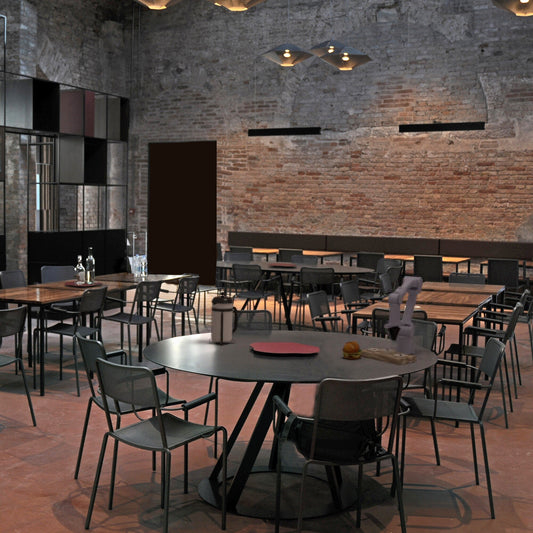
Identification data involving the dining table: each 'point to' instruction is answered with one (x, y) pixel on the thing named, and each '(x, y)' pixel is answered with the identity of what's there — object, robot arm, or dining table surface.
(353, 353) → the cheeseburger
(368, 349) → the one dot tile
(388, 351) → the two dot tile
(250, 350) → the dining table surface
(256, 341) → the dining table surface
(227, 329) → the coffee press
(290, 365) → the dining table surface
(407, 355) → the three dot tile
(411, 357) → the tile board
